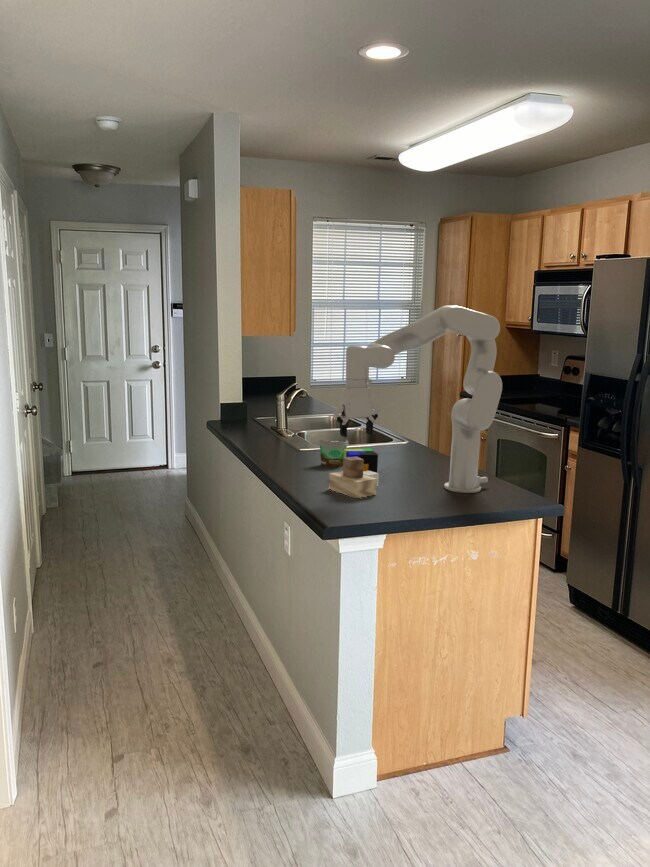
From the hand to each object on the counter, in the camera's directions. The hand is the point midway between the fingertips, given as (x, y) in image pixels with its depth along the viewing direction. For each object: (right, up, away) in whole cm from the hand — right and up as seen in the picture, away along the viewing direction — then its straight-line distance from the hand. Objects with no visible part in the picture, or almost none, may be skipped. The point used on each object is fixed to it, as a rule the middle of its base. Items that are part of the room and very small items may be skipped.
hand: (356, 435), depth 236 cm
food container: (-6, -12, +42) cm, 44 cm away
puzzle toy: (+2, -16, +23) cm, 28 cm away
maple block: (-1, -20, +3) cm, 20 cm away
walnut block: (-1, -14, +2) cm, 14 cm away
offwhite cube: (+4, -18, +12) cm, 22 cm away
